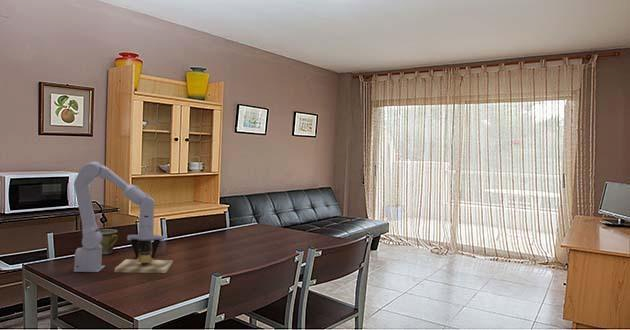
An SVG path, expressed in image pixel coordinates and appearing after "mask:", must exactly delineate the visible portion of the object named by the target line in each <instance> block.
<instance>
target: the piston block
mask: <svg viewBox="0 0 630 330" xmlns="http://www.w3.org/2000/svg"><path fill="white" fill-rule="evenodd" d="M142 255H149V253H142ZM173 263H174V260H173V259H172V260H171V259H153V261H152V262H147V263H141V262H138V261H137V259H135V258H134V259H133V258H132V259H130V258H129V259H127V258H126V259H124V260H123V261H122V262H121V263H120V264H119V265H117V266H115V268H114V273H138V274H139V273H144V274H145V273H147V274H148V273H149V274H156V273H157V274H167V272H168V271H169V270H170V268H171V266H172V265H173Z"/></svg>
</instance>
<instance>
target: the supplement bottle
mask: <svg viewBox="0 0 630 330" xmlns="http://www.w3.org/2000/svg"><path fill="white" fill-rule="evenodd" d="M152 242H153V241H148V240H140V244H139V253H141V252H152ZM134 257H135V258H134V259H137V258H136V255H135V254H134Z"/></svg>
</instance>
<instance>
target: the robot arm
mask: <svg viewBox="0 0 630 330" xmlns="http://www.w3.org/2000/svg"><path fill="white" fill-rule="evenodd" d="M95 178H98V179H103V180H107V181H109V182H110V183H112V184H113V185H115V186H116V187H118V188H119V189H120V190H122V191H123V196H124V197H125V198H127V199H128V200H129V201H131V202H132V203H134V204H135V205H138V208H139V210H140V212H139V215H138V216H139V218H138V220H139V221H138V223H139V224H138V234H128V235H127V239H126V241H130V244H131V246H132V248H133V251H134V256H135V255H136V258H135V259H137V258H138V253H139V244H140V240H148V241H152V245H151V252H152V258H153V259H154V258H155V257H156V252H157V250H158V247H159V245H160V243H161V242H164V241H165V235H157V234H154V227H155V225H154V224H155V223H154V222H155V214H154V212H155V200H154V198H153V197H152V195H151V196H150V195H149V194H148V193H146V192H144V191H143V190H141V189H140V186H138V185H135V184H128V183H127V182H126V181H125V180H124V179H122V178H121V177H120V176H118V175H117V173H115V172H114V171H112V170H111V169H110V168H109V167H107V166H105V165H103V164H102V163H101V162H100V161H97V160H93V161H90V162H89V161H88V162H86V163H84V164H83V165H82V166H81V167H80V168H79V171H78V173H77V175H76V178H75V180H74V182H73V187H74V191H75V192H74V193H75V195H76V200H77V205H78V209H79V215H80V220H81V224H82V225H81V226H82V239H81V245H82V247H77V248H76V250H75V253H74V263H73V265H74V267H73V272H75V273H77V272H78V273H79V272H80V273H81V272H83V273H99V272H100V271H102V270H103V269H104V268H105V267H106V265H102V263H103V262H102V261H103V260H102V256H103V254H102V246H101V244H100V242H101V240H102V237H103V236H102V233H101V232H100V231H99V230H100V229H99V226H98V223H97V221H96V217H95V211H94V207H93V203H92V197H91V192H90V187H89V186H90V184H91V183H92V182H93V181H94V180H95Z"/></svg>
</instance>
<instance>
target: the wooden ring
mask: <svg viewBox="0 0 630 330" xmlns="http://www.w3.org/2000/svg"><path fill="white" fill-rule="evenodd" d="M142 253H149V255H142ZM136 260H137V261H138V262H141V263H147V262H152V261H153V260H154V258H152V251H151V252H141V253H138V258H136Z"/></svg>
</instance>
